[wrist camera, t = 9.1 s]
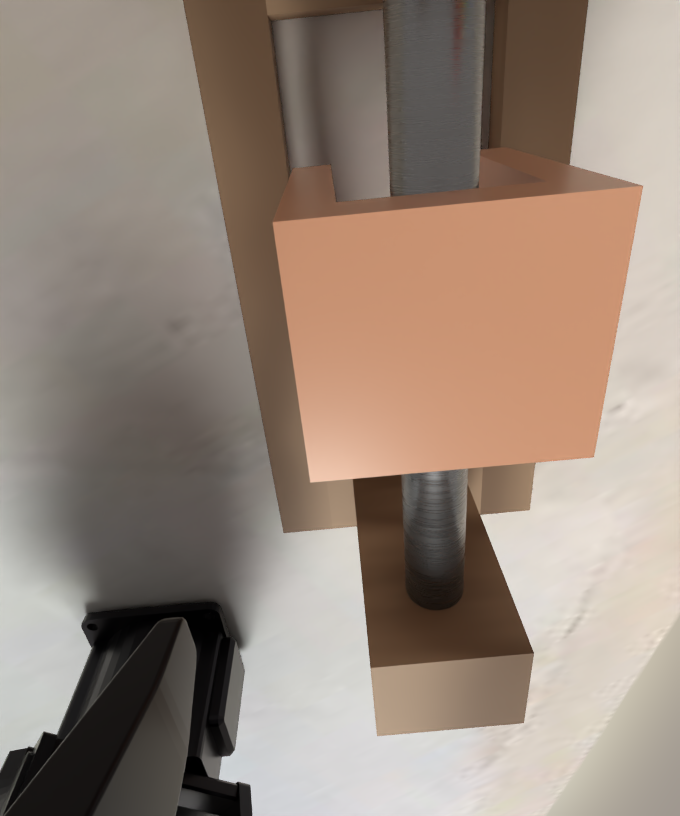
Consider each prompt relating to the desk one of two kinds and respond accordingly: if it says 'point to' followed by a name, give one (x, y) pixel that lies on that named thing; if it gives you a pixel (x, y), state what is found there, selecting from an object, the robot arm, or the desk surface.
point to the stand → (270, 345)
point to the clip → (454, 316)
